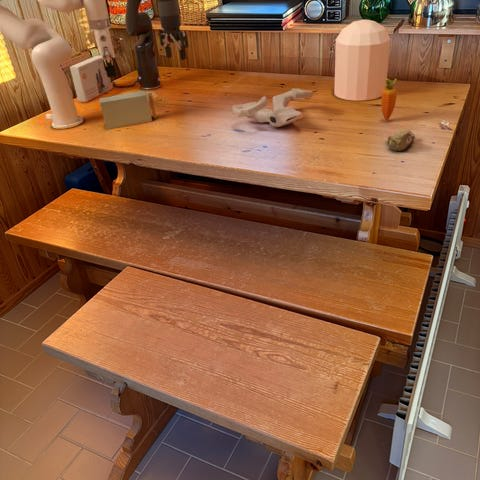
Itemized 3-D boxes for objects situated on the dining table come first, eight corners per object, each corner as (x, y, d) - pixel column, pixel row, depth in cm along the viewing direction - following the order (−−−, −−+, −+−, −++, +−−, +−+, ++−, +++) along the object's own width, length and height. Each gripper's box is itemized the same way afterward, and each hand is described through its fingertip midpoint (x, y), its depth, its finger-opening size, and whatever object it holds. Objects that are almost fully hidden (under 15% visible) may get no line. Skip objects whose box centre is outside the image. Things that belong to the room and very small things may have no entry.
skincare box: (87, 102, 214) (77, 67, 204) (78, 102, 215) (68, 66, 206) (113, 88, 229) (105, 54, 220) (104, 88, 231) (96, 54, 222)
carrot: (394, 118, 167) (398, 76, 158) (393, 123, 163) (397, 80, 154) (379, 117, 168) (383, 75, 160) (378, 122, 165) (382, 80, 156)
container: (354, 104, 182) (359, 27, 166) (324, 91, 198) (325, 20, 182) (396, 93, 189) (404, 18, 173) (363, 81, 205) (368, 12, 189)
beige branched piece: (230, 133, 167) (227, 101, 161) (244, 110, 188) (241, 81, 182) (308, 133, 161) (308, 99, 155) (313, 109, 182) (314, 78, 176)
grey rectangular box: (150, 116, 191) (145, 90, 185) (152, 121, 186) (147, 94, 180) (105, 124, 188) (99, 98, 182) (106, 129, 183) (99, 102, 177)
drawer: (167, 111, 191) (164, 90, 186) (169, 115, 188) (166, 93, 183) (113, 121, 187) (108, 99, 182) (114, 125, 183) (108, 103, 178)
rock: (408, 140, 153) (379, 139, 152) (414, 122, 149) (384, 120, 148) (421, 154, 144) (391, 153, 143) (428, 135, 140) (396, 133, 139)
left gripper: (112, 26, 159) (123, 77, 169) (107, 19, 173) (118, 66, 182) (90, 29, 157) (102, 80, 167) (87, 22, 171) (98, 69, 181)
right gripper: (189, 12, 171) (195, 58, 180) (165, 10, 179) (172, 54, 189) (173, 16, 167) (180, 62, 176) (149, 14, 175) (157, 59, 184)
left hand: (110, 73), depth 175 cm, fingers open, 9 cm apart
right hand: (176, 58), depth 182 cm, fingers open, 8 cm apart
